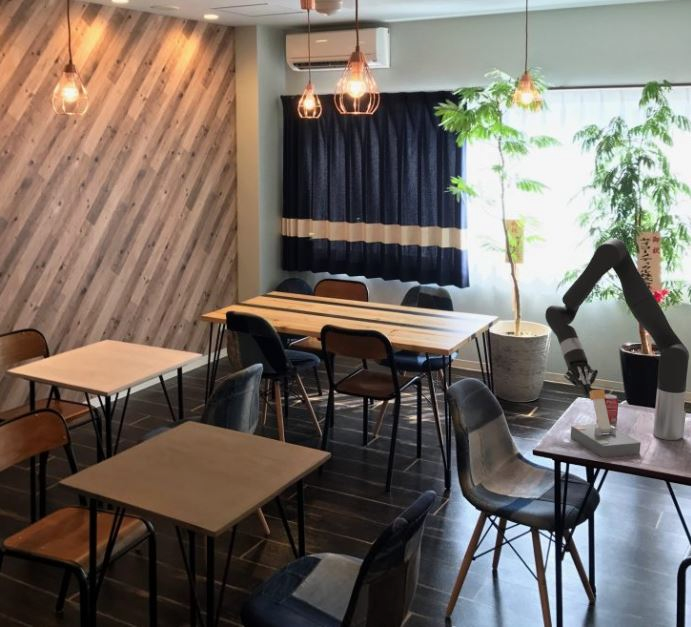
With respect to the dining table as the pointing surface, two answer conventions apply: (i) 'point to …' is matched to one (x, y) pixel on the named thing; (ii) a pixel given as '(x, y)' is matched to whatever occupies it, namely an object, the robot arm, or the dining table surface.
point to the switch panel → (605, 441)
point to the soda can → (611, 408)
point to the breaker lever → (600, 410)
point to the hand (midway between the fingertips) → (589, 395)
